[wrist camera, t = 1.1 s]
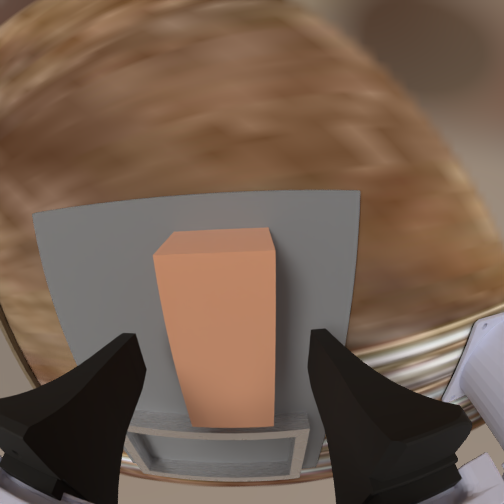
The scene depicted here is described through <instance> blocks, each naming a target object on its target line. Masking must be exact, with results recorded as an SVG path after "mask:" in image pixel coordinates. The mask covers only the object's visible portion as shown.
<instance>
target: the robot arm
mask: <svg viewBox="0 0 504 504" xmlns="http://www.w3.org/2000/svg"><path fill="white" fill-rule="evenodd" d="M307 369H308V374H309V380H310V385H311V389H312V392H313V396H314V399H315V402H316V405H317V408H318V411H319V414H320V417H321V420H322V423H323V426H324V430H325V433H326V437H327V442H328V448H329V453H330V459H331V465H332V472H333V479H334V487H335V496H336V504H504V473H503V475H502V477H501V476H500V473H499V472H498V470H497V468H496V466H495V464H494V463H493V461H492V460H491V458H490V456H489V454H488V453H487V452H485V453H483V454H481V455H480V456H478V457H476V458H475V459H473V460H471V461H469V462H467V463H466V464H464V465H463V466H461V467H460V468H459V469H457V467H456V465H455V463H456V462H457V461H458V458H457V456H456V454H455V452H456V451H457V450H458V448H459V447H460V446H461V445H462V443H463V442H464V441H465V440H466V438H467V437H468V435H469V434H470V431H471V428H472V422H471V421H470V419H469V418H468V416H467V415H466V413H465V412H464V410H463V409H462V408H461V406H460V405H455V404H451V403H447V402H450V401H452V400H455V399H457V398H460V397H462V396H465V395H466V396H467V397H468V398H469V400H470V401H471V403H472V404H473V405H474V407H475V408H476V410H477V411H478V412H479V414H480V415H481V417H482V418H483V420H484V421H485V423H486V424H487V426H488V427H489V429H490V430H491V432H492V433H493V435H494V436H495V438H496V439H497V441H498V442H499V444H500V446H501V447H502V449H503V450H504V312H502V313H499V314H496V315H492V316H489V317H486V318H482V319H479V320H477V321H476V322H475V324H474V326H473V328H472V331H471V334H470V337H469V339H468V342H467V345H466V347H465V350H464V352H463V354H462V357H461V359H460V362H459V364H458V366H457V368H456V371H455V373H454V375H453V377H452V379H451V381H450V383H449V385H448V387H447V389H446V391H445V393H444V395H443V397H442V401H439V400H435V399H432V398H429V397H426V396H423V395H421V394H418V393H416V392H413V391H411V390H409V389H407V388H405V387H402V386H400V385H398V384H396V383H395V382H393V381H391V380H389V379H388V378H386V377H384V376H383V375H381V374H379V373H378V372H376V371H375V370H373V369H372V368H371V367H369V366H368V365H367V364H365V363H364V362H363V361H361V360H360V359H359V358H358V357H356V356H355V355H354V354H353V353H352V352H350V351H349V350H348V349H347V348H346V347H345V346H344V345H343V344H342V343H341V342H339V341H338V340H337V339H336V338H335V337H334V336H333V335H332V334H331V333H330V332H329V331H328V330H327V329H326V328H323V329H312V330H311V333H310V345H309V355H308V365H307ZM146 371H147V368H146V365H145V362H144V359H143V356H142V353H141V349H140V346H139V343H138V339H137V336H136V333H122V334H120V335H119V336H118V337H116V338H115V339H113V340H112V341H111V342H109V343H108V344H107V345H106V346H104V347H103V348H102V349H100V350H99V351H98V352H96V353H95V354H94V355H92V356H91V357H90V358H88V359H87V360H85V361H84V362H83V363H81V364H80V365H78V366H77V367H75V368H74V369H72V370H71V371H69V372H68V373H66V374H64V375H62V376H61V377H59V378H57V379H55V380H53V381H51V382H49V383H47V384H44V385H42V386H40V387H38V388H35V389H32V390H30V391H27V392H24V393H20V394H17V395H13V396H9V397H4V398H0V448H1V449H2V450H3V451H4V452H5V454H4V456H3V457H1V456H0V504H118V484H119V474H120V466H121V459H122V453H123V448H124V443H125V438H126V434H127V431H128V428H129V425H130V422H131V419H132V417H133V414H134V411H135V408H136V406H137V403H138V400H139V398H140V395H141V392H142V389H143V385H144V381H145V376H146ZM502 467H503V469H504V463H503V464H502Z"/></svg>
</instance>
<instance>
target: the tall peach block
mask: <svg viewBox="0 0 504 504" xmlns="http://www.w3.org/2000/svg"><path fill="white" fill-rule="evenodd" d="M153 260H154V266H155V272H156V278H157V284H158V290H159V295H160V301H161V306H162V311H163V316H164V321H165V325H166V330H167V334H168V339H169V343H170V348H171V352H172V356H173V360H174V364H175V368H176V372H177V376H178V379H179V383H180V387H181V390H182V394H183V397H184V401H185V404H186V408H187V411H188V414H189V418H190V421H191V424H192V427H209V428H250V427H271V426H274V401H275V341H276V252H275V247H274V244H273V241H272V237H271V234H270V231H269V228H268V227H266V228H240V229H217V230H197V231H178V232H173V233H172V234H171V235H170V237H169V238H168V239H167V240H166V241H165V242H164V243H163V244H162V245H161V247H160V248H159V249H158V250H157V251H156V252H155V253H154V254H153Z"/></svg>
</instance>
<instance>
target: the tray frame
mask: <svg viewBox="0 0 504 504" xmlns="http://www.w3.org/2000/svg"><path fill="white" fill-rule="evenodd" d="M309 431H310V427H309V422H308V417H307V412H306V411H301V412H290V413H277V414H274V426H271V427H250V428H209V427H192V424H191V421H190V418H189V414H177V413H165V412H154V411H145V410H137V409H135V411H134V414H133V417H132V419H131V422H130V425H129V428H128V431H127V434H126V438H125V443H124V446H125V448H126V449H127V451H128V452H129V454H130V455H131V456H132V458H133V459H134V461H135V462H136V464H137V465H138V466H139V468H140V469H141V471H142V472H143V473H145V474H151V475H158V476H165V477H172V478H181V479H192V480H206V481H268V480H282V479H293V478H299V477H300V473H301V468H302V464H303V460H304V455H305V450H306V446H307V441H308V436H309ZM139 433H140V434H147V435H155V436H164V437H173V438H185V439H202V440H261V439H278V438H290V437H291V440H290V448H289V456H288V460H286V461H274V462H254V463H216V462H196V461H183V460H173V459H165V458H157V457H153V456H152V455H151V453H150V451H149V450H148V448H147V446H146V444H145V443H144V441H143V439H142V437H141V435H140V434H139Z"/></svg>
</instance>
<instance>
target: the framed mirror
mask: <svg viewBox="0 0 504 504" xmlns="http://www.w3.org/2000/svg"><path fill="white" fill-rule="evenodd" d="M38 387H40V384H39V383H38V381H37V379H36V378H35V376H34V374H33V372H32V371H31V369H30V367H29V365H28V364H27V362H26V360H25V358H24V356H23V354H22V352H21V350H20V348H19V346H18V344H17V342H16V340H15V338H14V336H13V334H12V332H11V330H10V328H9V325H8V323H7V321H6V318H5V316H4V314H3V311H2V309H1V306H0V398H4V397H9V396H13V395H17V394H20V393H24V392H27V391H30V390H32V389H35V388H38Z"/></svg>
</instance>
